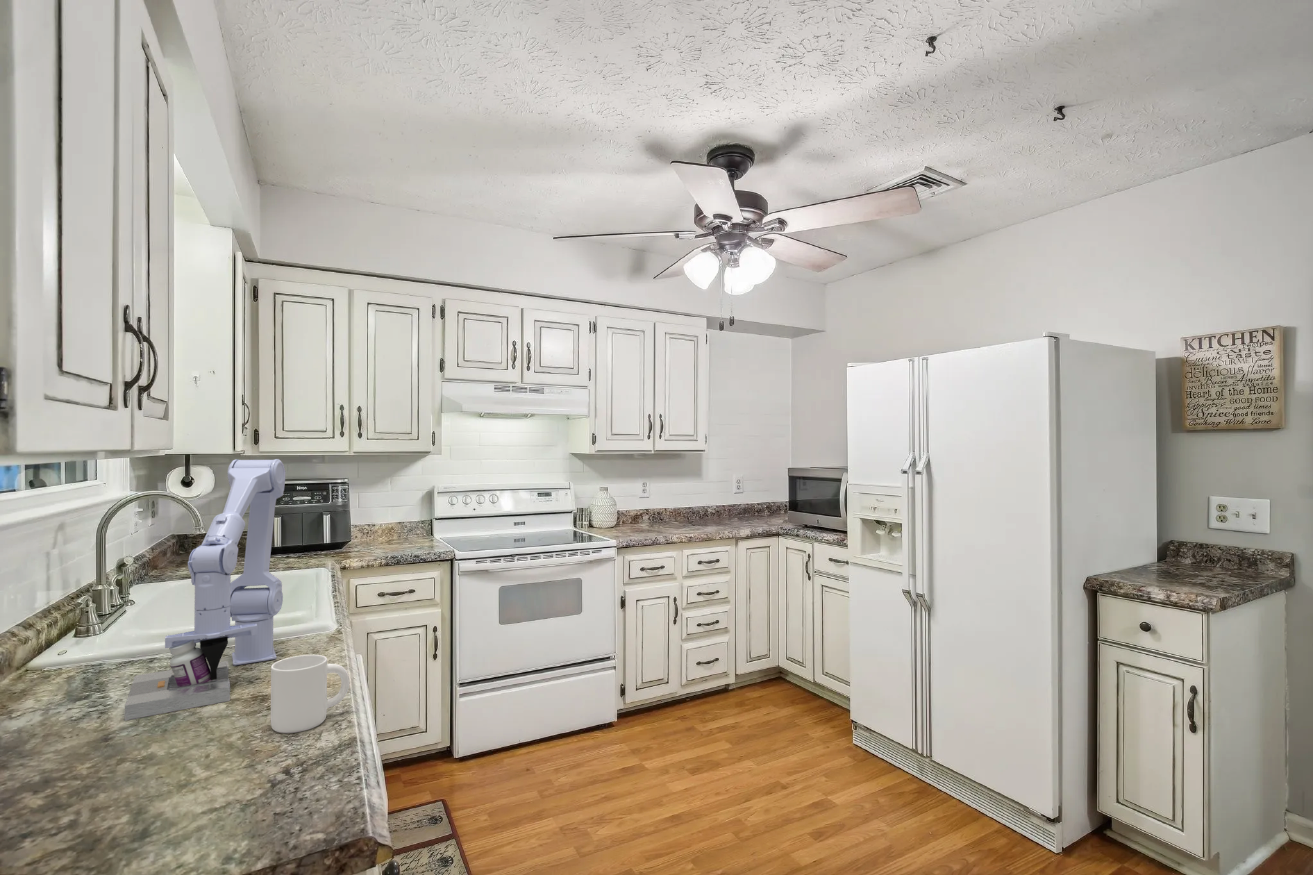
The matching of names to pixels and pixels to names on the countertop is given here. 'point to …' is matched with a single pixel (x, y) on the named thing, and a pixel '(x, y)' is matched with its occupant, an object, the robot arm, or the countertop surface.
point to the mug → (303, 692)
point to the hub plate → (174, 693)
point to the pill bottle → (189, 664)
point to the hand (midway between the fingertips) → (212, 678)
